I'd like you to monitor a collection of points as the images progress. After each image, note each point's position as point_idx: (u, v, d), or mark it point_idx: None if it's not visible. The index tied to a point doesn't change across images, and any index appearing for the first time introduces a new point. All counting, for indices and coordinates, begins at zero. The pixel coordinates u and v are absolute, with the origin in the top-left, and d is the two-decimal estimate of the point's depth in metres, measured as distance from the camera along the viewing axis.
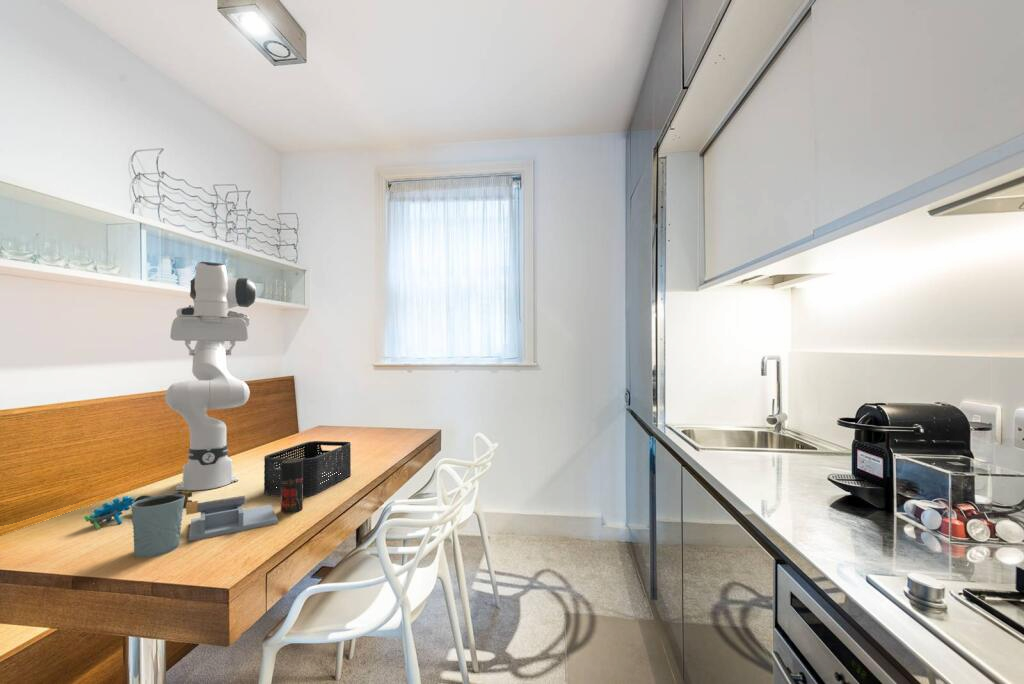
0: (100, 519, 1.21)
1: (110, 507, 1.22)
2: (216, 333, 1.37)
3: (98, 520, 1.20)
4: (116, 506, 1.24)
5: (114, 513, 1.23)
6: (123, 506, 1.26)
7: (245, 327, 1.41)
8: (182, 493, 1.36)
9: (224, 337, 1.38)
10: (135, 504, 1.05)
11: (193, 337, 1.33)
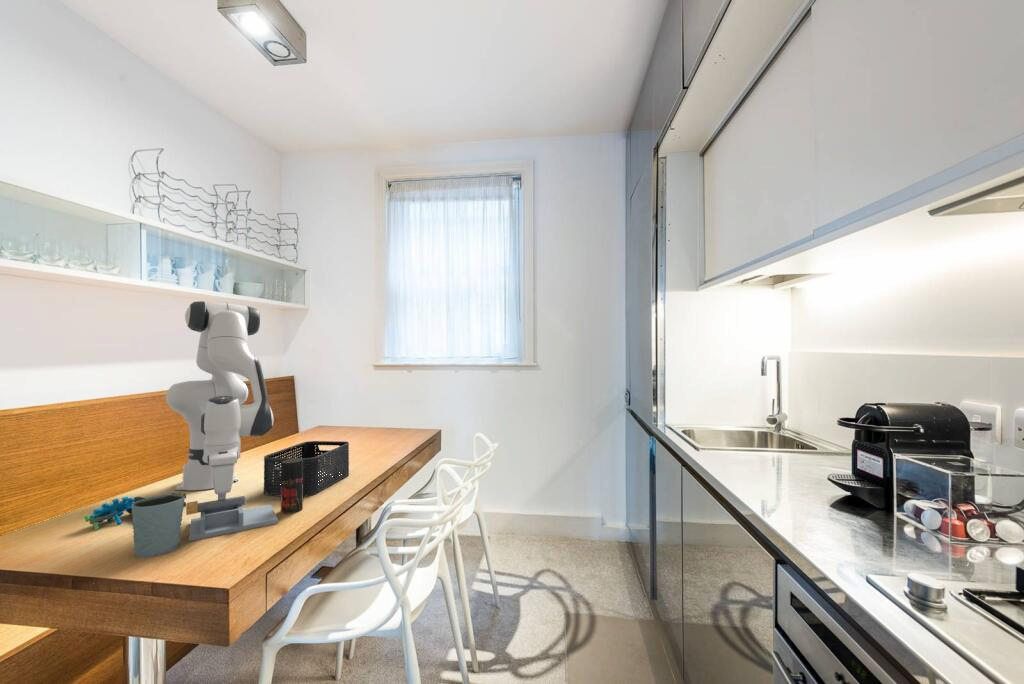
0: (100, 519, 1.20)
1: (110, 507, 1.22)
2: None
3: (98, 520, 1.20)
4: (116, 506, 1.23)
5: (114, 513, 1.23)
6: (124, 506, 1.26)
7: None
8: None
9: None
10: (135, 504, 1.05)
11: None
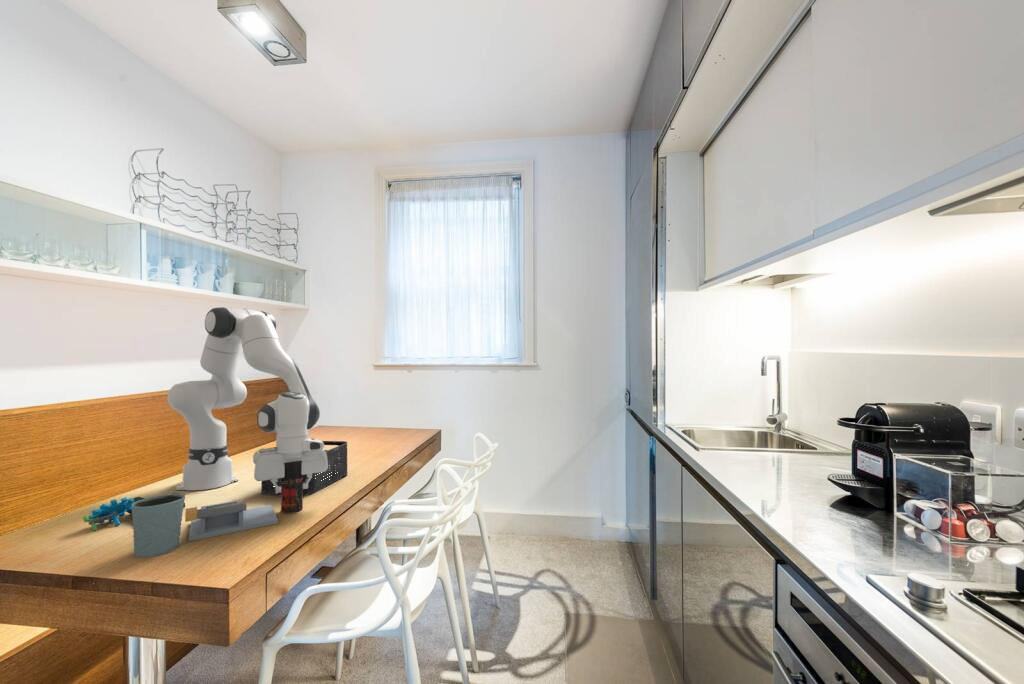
0: (98, 520, 1.20)
1: (108, 508, 1.21)
2: None
3: (96, 521, 1.19)
4: (115, 507, 1.22)
5: (113, 514, 1.22)
6: (123, 507, 1.25)
7: None
8: None
9: None
10: (135, 504, 1.05)
11: None
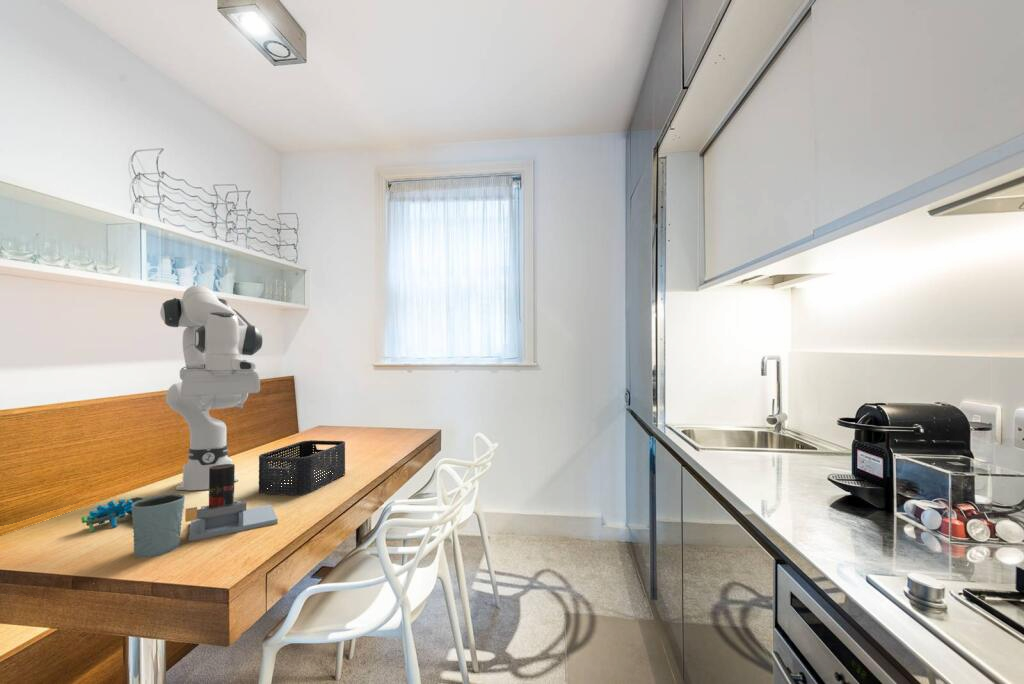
0: (96, 521, 1.19)
1: (106, 509, 1.20)
2: None
3: (94, 522, 1.19)
4: (113, 509, 1.21)
5: (111, 516, 1.21)
6: (123, 509, 1.24)
7: None
8: None
9: None
10: (135, 504, 1.05)
11: None
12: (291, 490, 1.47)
